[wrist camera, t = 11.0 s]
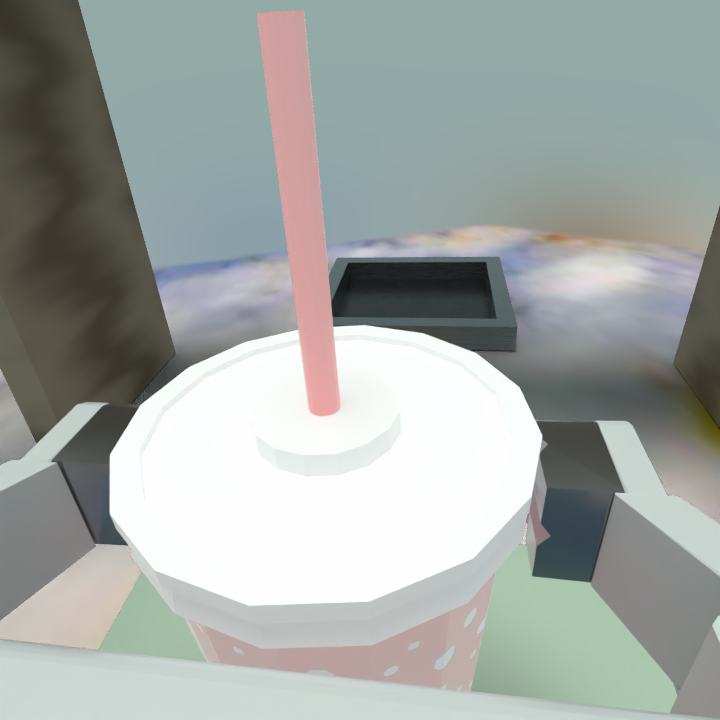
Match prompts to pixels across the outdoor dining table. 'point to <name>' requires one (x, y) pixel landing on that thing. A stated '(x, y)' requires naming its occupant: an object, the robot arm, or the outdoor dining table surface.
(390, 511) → the beverage cup
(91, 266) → the walnut tunnel
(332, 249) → the outdoor dining table surface
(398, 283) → the tray
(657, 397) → the outdoor dining table surface
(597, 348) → the outdoor dining table surface
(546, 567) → the robot arm
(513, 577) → the sage pad
